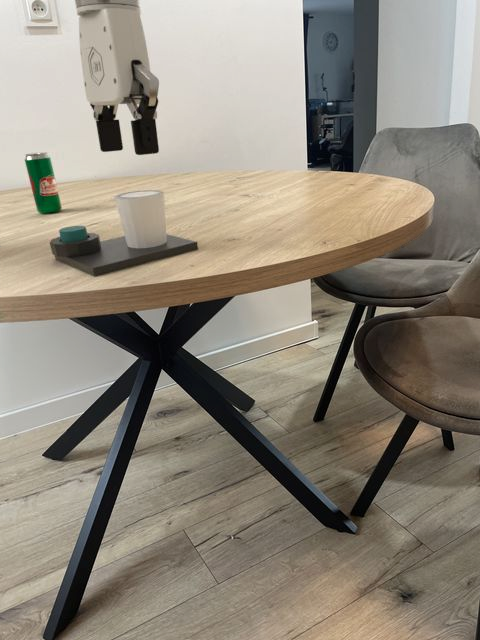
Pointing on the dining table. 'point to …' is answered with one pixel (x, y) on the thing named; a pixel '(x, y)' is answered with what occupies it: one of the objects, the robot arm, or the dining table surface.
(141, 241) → the white cup
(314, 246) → the dining table surface
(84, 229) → the button
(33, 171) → the soda can
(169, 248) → the scale
